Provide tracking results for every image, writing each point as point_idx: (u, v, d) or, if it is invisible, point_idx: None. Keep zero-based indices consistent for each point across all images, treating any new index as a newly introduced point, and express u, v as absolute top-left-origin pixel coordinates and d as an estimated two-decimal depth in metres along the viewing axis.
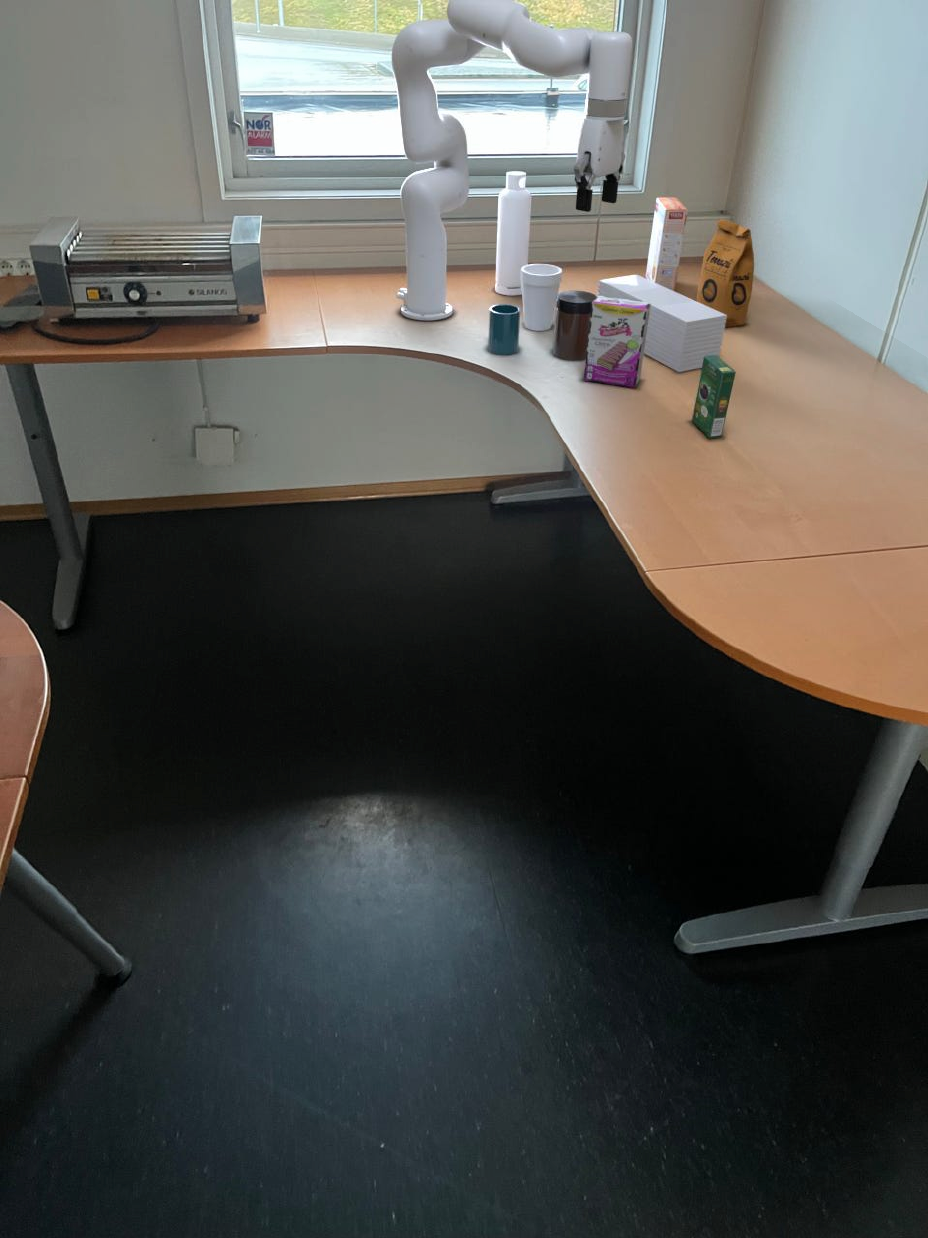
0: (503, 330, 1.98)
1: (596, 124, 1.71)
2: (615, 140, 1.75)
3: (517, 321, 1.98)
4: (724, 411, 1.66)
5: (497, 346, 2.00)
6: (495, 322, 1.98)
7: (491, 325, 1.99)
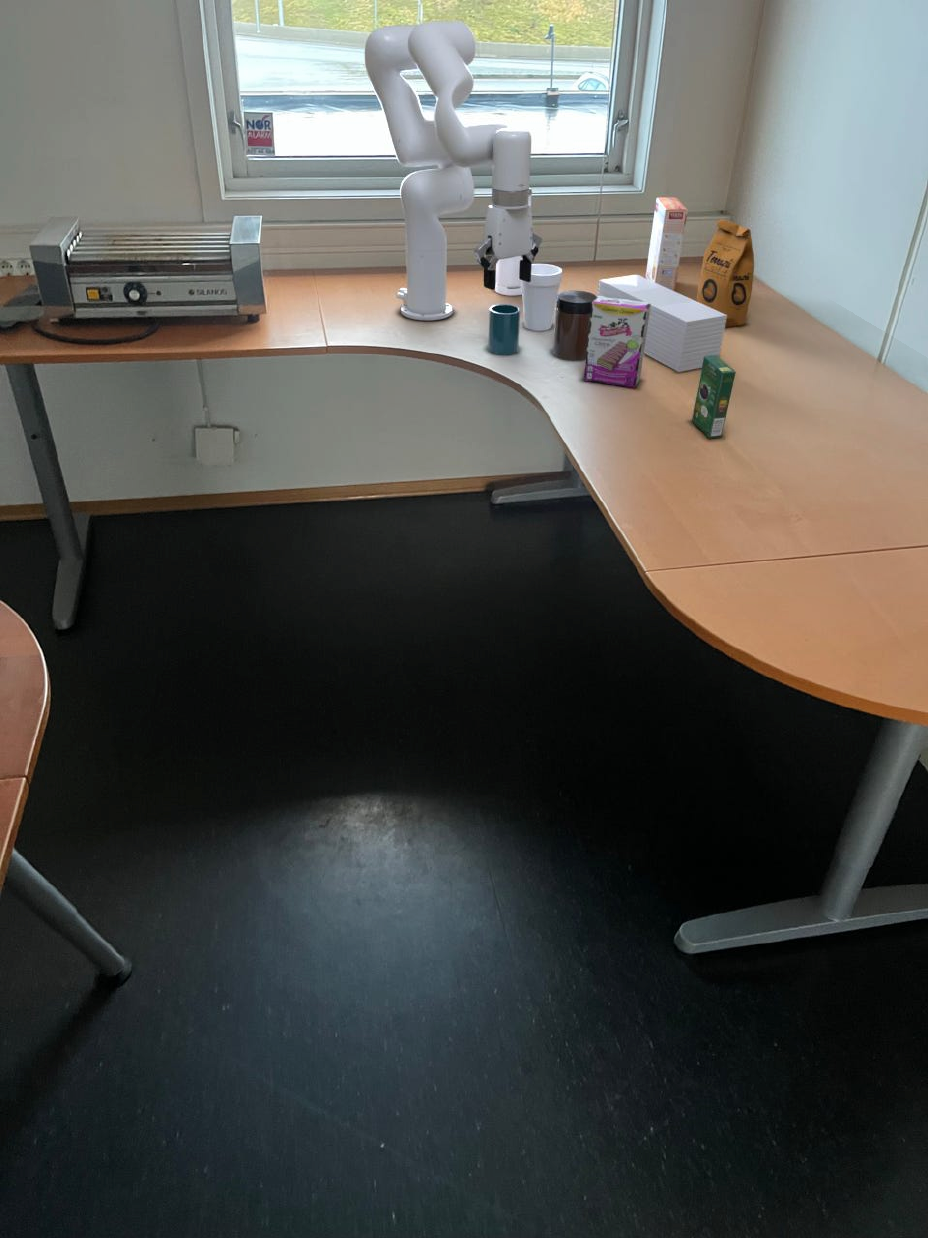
0: (503, 330, 1.98)
1: (496, 212, 1.84)
2: (519, 226, 1.87)
3: (517, 321, 1.98)
4: (724, 411, 1.66)
5: (497, 346, 2.00)
6: (495, 322, 1.98)
7: (491, 325, 1.99)
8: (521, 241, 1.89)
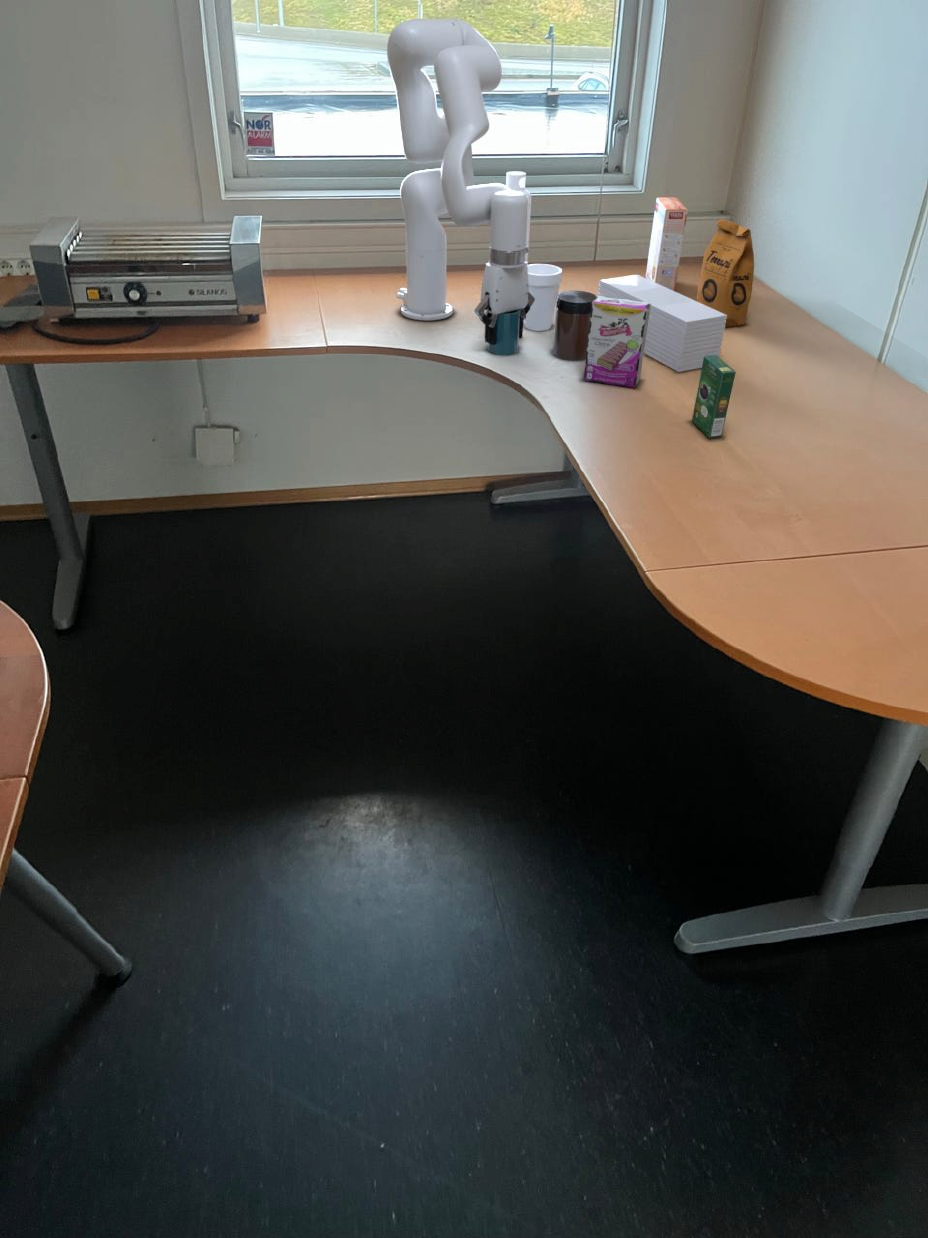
0: (503, 330, 1.98)
1: (493, 270, 1.90)
2: (516, 283, 1.94)
3: (517, 321, 1.98)
4: (724, 411, 1.66)
5: (497, 346, 2.00)
6: None
7: None
8: (517, 297, 1.96)
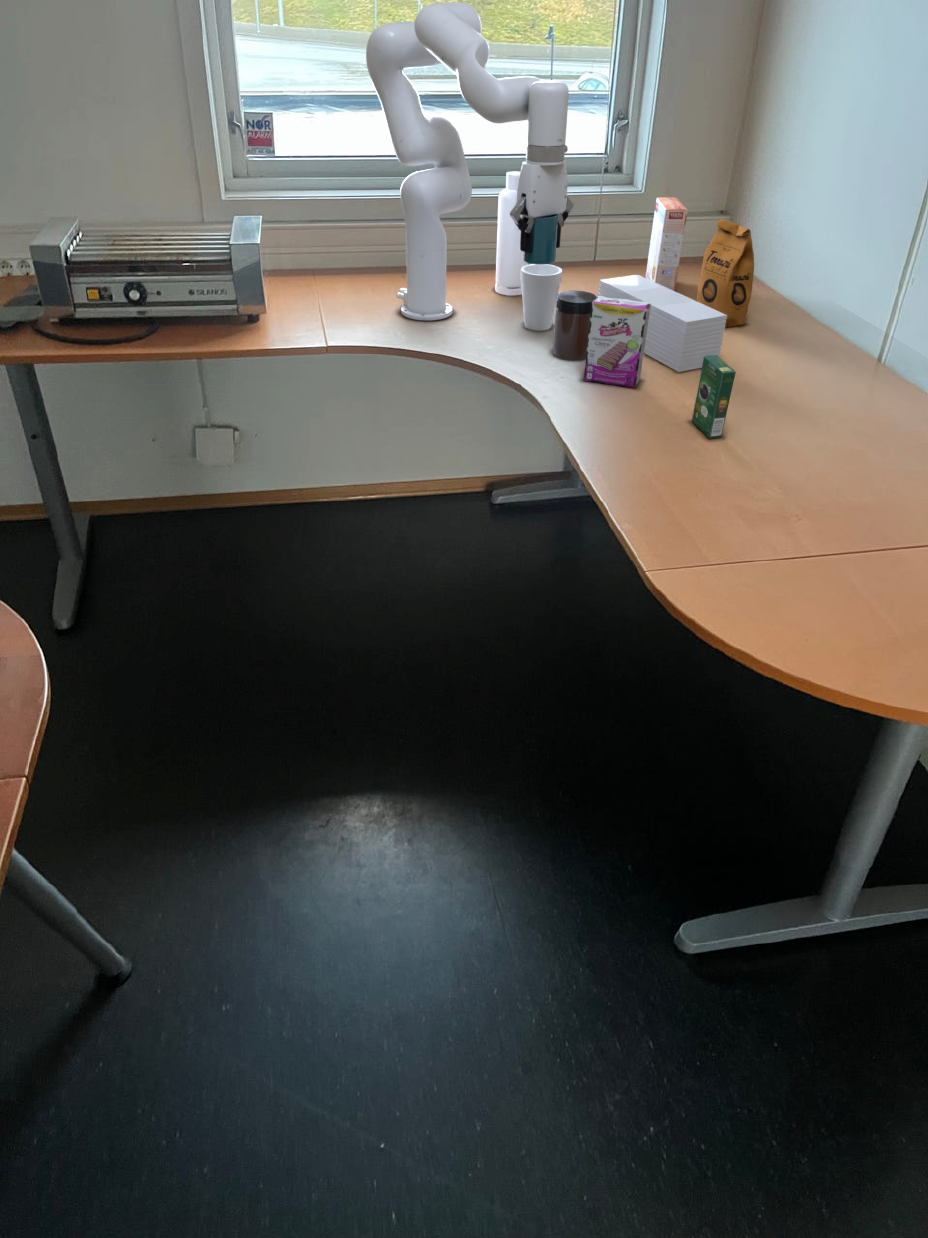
0: (540, 236, 1.86)
1: (530, 168, 1.78)
2: (554, 184, 1.82)
3: (555, 227, 1.86)
4: (724, 411, 1.66)
5: (533, 254, 1.88)
6: None
7: None
8: (555, 200, 1.84)
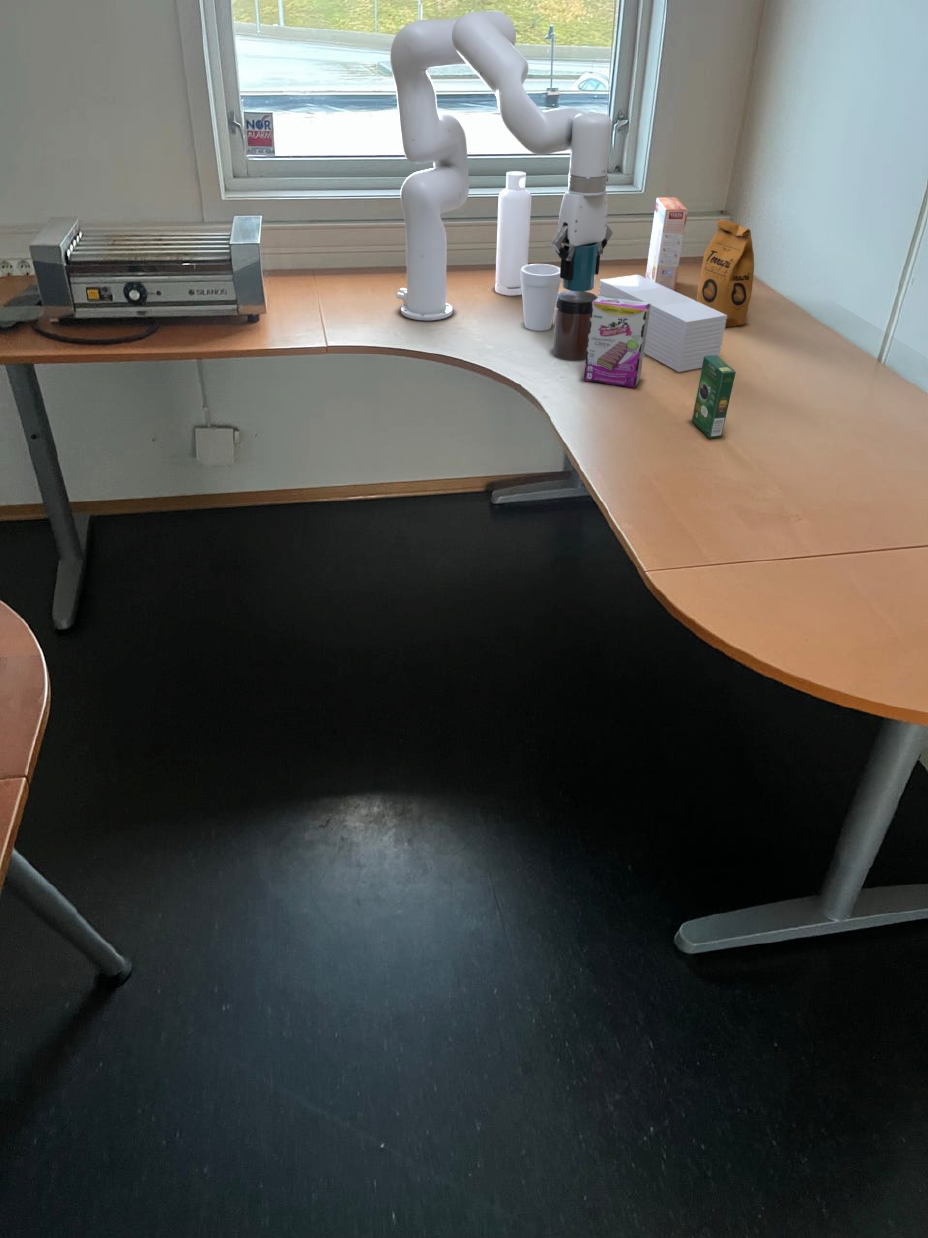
0: (580, 264, 1.88)
1: (573, 198, 1.81)
2: (595, 213, 1.84)
3: (595, 255, 1.88)
4: (724, 411, 1.66)
5: (573, 282, 1.91)
6: None
7: None
8: (596, 228, 1.86)
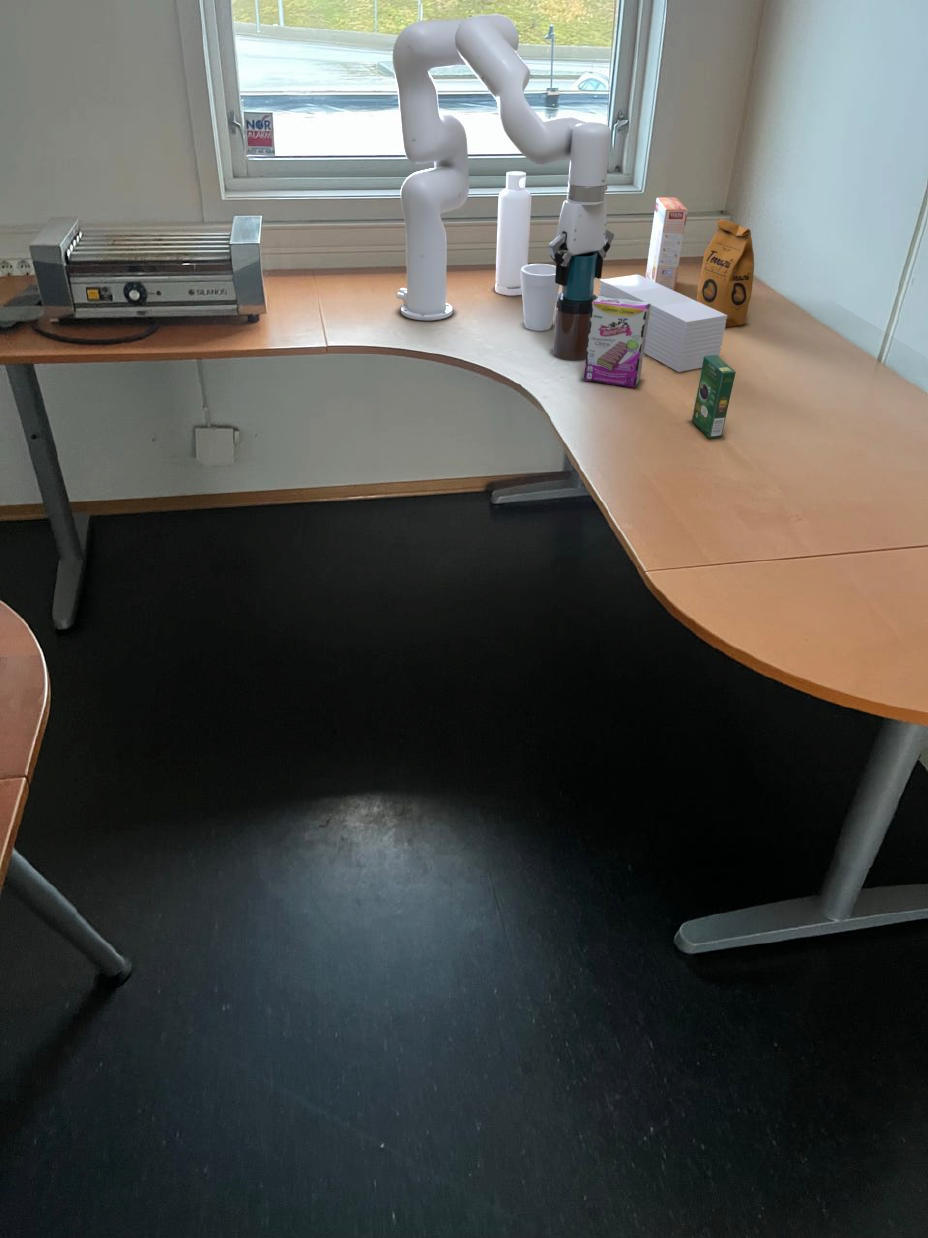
0: (579, 275, 1.89)
1: (572, 207, 1.82)
2: (594, 222, 1.85)
3: (594, 265, 1.90)
4: (724, 411, 1.66)
5: (572, 292, 1.92)
6: (571, 266, 1.89)
7: None
8: (595, 237, 1.87)
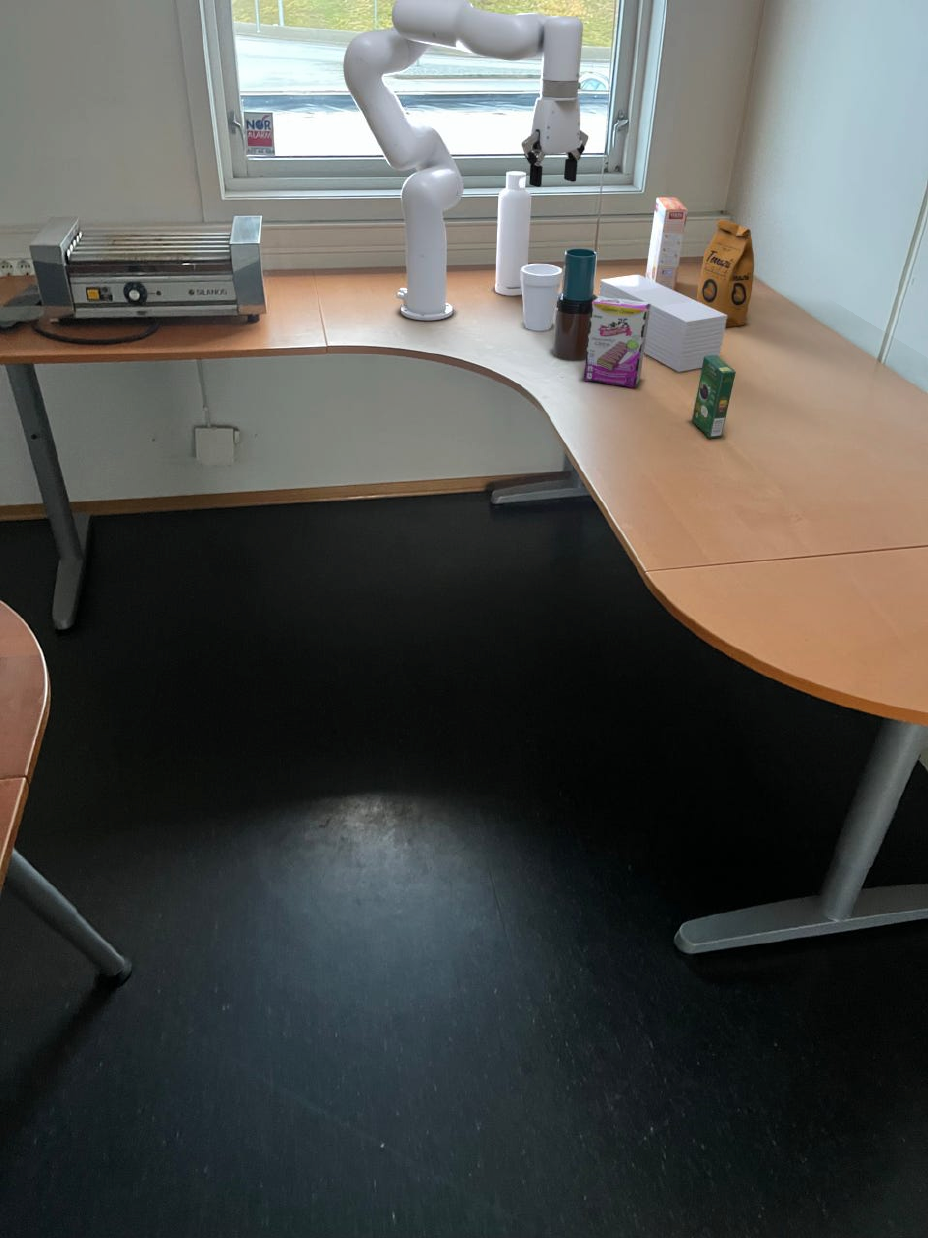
0: (579, 275, 1.89)
1: (545, 103, 1.81)
2: (568, 120, 1.85)
3: (594, 265, 1.90)
4: (724, 411, 1.66)
5: (572, 292, 1.92)
6: (571, 266, 1.89)
7: (566, 269, 1.90)
8: (569, 136, 1.87)
